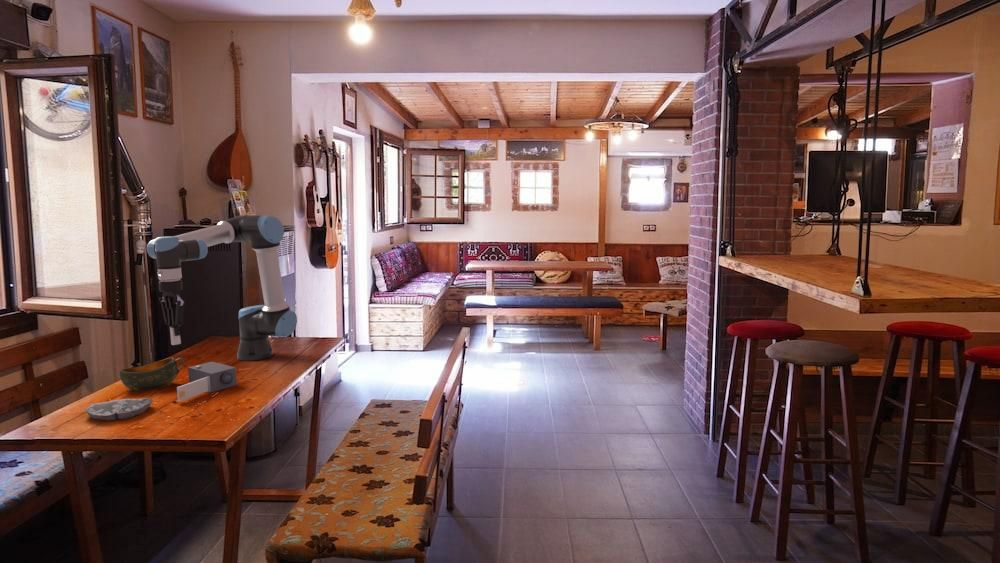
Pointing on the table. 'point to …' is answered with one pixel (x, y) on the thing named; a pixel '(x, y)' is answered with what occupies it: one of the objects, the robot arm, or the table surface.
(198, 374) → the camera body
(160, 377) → the cup
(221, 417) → the table surface
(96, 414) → the brain slice
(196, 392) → the door
